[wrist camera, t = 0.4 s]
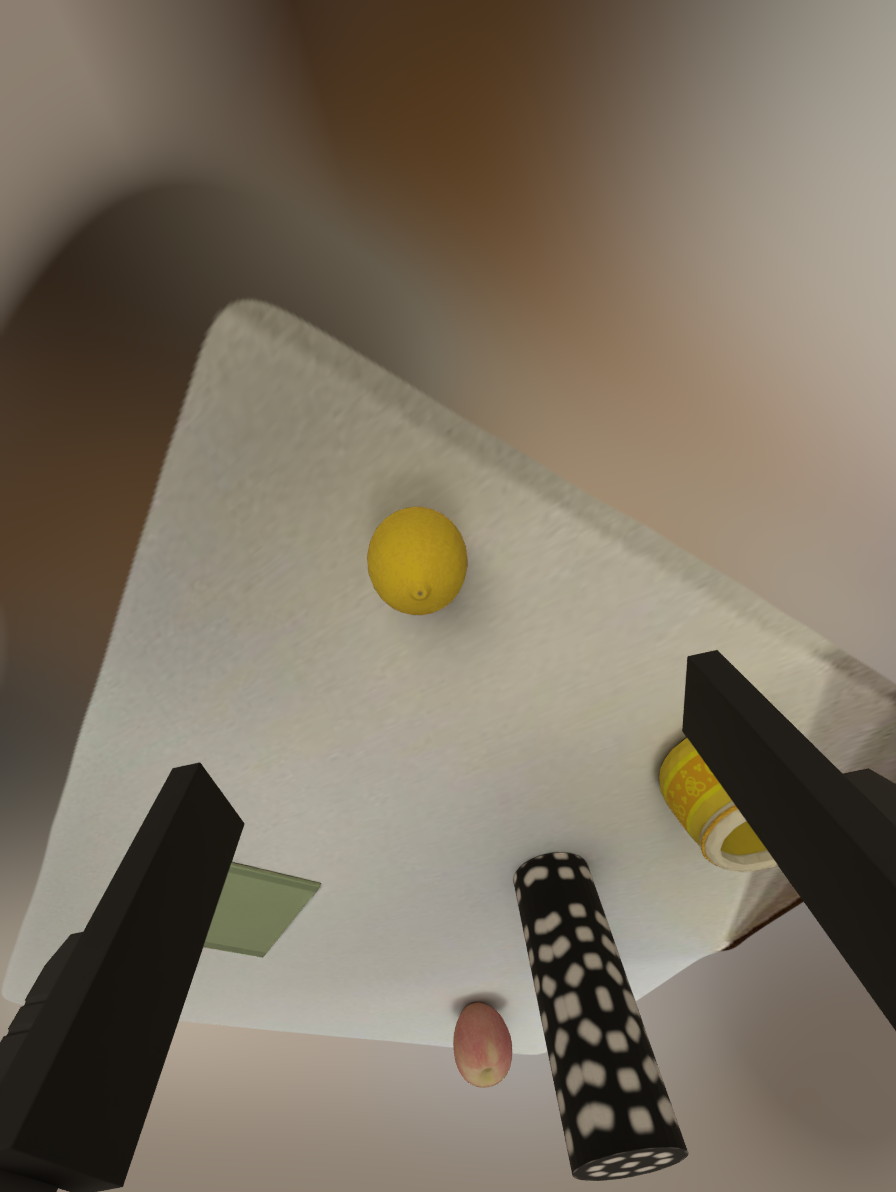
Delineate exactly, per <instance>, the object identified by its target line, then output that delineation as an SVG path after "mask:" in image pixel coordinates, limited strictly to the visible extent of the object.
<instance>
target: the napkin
mask: <svg viewBox="0 0 896 1192" xmlns="http://www.w3.org/2000/svg"><path fill="white" fill-rule="evenodd" d="M320 885H321V883H317V882H313V881H308V880H304V879H300V878H296V877H291V876H287V875H283V874H279V873H275V872H270V871H266V870H262V869H258V868H253V867H249V866H245V865H241V864H236V863H231V866H230V869H229V872H228V875H227V878H226V881H225V884H224V887H223V890H222V893H221V896H220V898H219V901H218V904H217V907H216V910H215V913H214V916H213V919H212V922H211V925H210V928H209V931H208V934H207V937H206V940H205V943H204V946H203V947H205V948H211V949H217V950H223V951H228V952H234V953H240V954H246V955H252V956H257V957H264V956H265V954H266V953H267V952H268V951H269V949H270V948H271V947H272V946H273V944H274V943H275V942H276V941H277V939H278V938H279V937H280V936H281V934H282V933H283V932H284V931H285V929H286V928H287V927H288V926H289V925H290V923H291V922H292V921H293V920H294V918H295V917H296V916H297V915H298V913H299V912H300V911H301V910H302V908H303V907H304V906H305V905H306V903H307V902H308V901H309V900H310V898H311V897H312V896H313V895H314V893H315V892H316V891H317V890H318V889H319V887H320Z"/></svg>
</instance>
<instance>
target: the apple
mask: <svg viewBox="0 0 896 1192" xmlns="http://www.w3.org/2000/svg"><path fill="white" fill-rule="evenodd" d="M453 1046H454V1056H455V1061H456V1064H457V1067H458V1069H459V1072H460V1073H461V1075H462V1076H463V1078H464V1079H465V1080H466V1081H467V1082H468V1083H470V1084H472V1085H474V1086H477V1087H483V1088H484V1087H490V1086H494V1085H496V1084H498V1083H499V1082H501V1081H502V1080H503V1079H504V1078H505V1076H506V1075H507V1073H508V1071H509V1069H510V1066H511V1060H512V1041H511V1036H510V1033H509V1030H508V1028H507V1026H506V1024H505V1022H504V1020H503V1018H502V1017H501V1015H500V1014H499V1013H498V1012H497V1011H496V1010H495V1009H494V1008H492V1007H490V1006H488V1005H486V1004H483V1003H479V1002H477V1003H472V1004H470V1005H468V1006H467V1007H465V1008H464V1010H463V1011H462V1013H461V1014H460V1016H459V1018H458V1021H457V1023H456V1027H455V1032H454V1042H453Z"/></svg>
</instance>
